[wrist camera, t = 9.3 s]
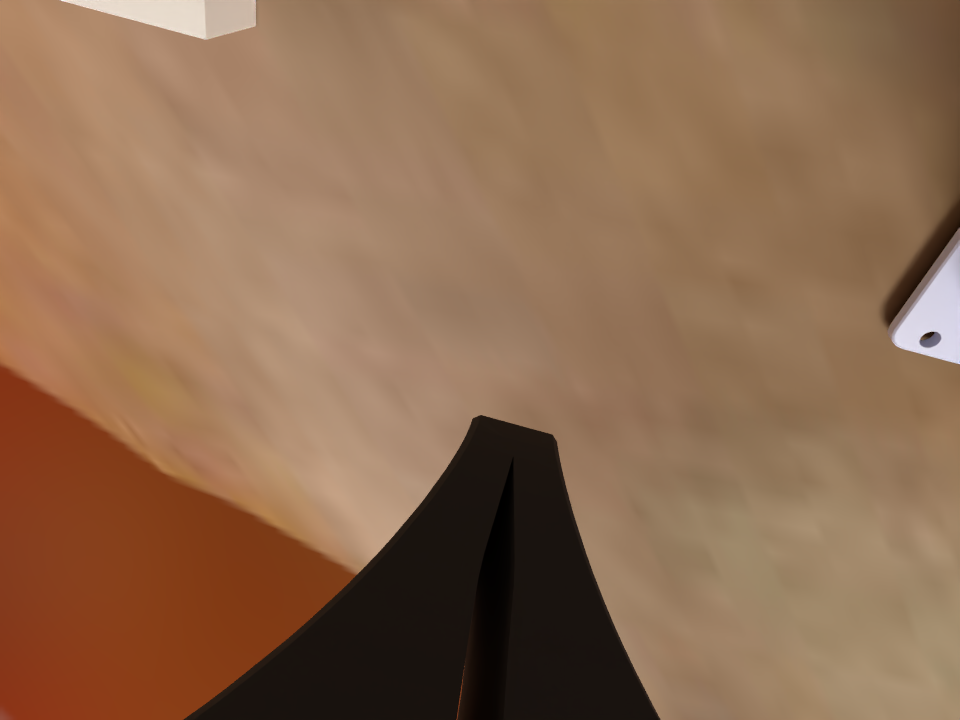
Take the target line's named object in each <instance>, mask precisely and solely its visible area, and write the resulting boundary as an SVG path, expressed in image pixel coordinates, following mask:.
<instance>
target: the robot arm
mask: <svg viewBox="0 0 960 720" xmlns="http://www.w3.org/2000/svg"><path fill="white" fill-rule="evenodd" d="M928 332H935V333H934V335H933V336H932V337H930V338H929V339H926V340H920V338H921V337H922V336H923V335H924V334H925V333H928ZM888 336H889V337H890V338H891V340H892V341H893V343H894V344H895V345H896V346H897V347H899V348H902V349H905V350H909V351H913V352H916V353H920V354H924V355H927V356H931V357H935V358H938V359H942V360H946V361H949V362H953V363H957V364H960V227H959V229H958V230H957V232H956V233H955V234H954V236H953V237H952V239H951V240H950V241H949V243H948V244H947V246H946V247H945V248H944V250H943V251H942V253H941V254H940V255H939V257H938V258H937V260H936V261H935V262H934V264H933V265H932V267H931V268H930V269H929V271H928V272H927V274H926V275H925V276H924V278H923V279H922V281H921V282H920V283H919V285H918V286H917V288H916V289H915V290H914V292H913V293H912V295H911V296H910V297H909V299H908V300H907V302H906V303H905V304H904V306H903V307H902V309H901V310H900V311H899V313H898V314H897V316H896V317H895V318H894V320H893V321H892V323H891V324H890V326H889V329H888ZM465 658H466V659H465ZM464 665H465V667H464ZM463 671H464V676H463ZM462 678H463V685H462V694H461V700H460V706H459V713H458V719H457V712H458V705H459V698H460V691H461V684H462ZM456 719H457V720H660V718H659V716H658V714H657V712H656V710H655V709H654V707H653V705H652V703H651V701H650V699H649V697H648V695H647V693H646V691H645V689H644V687H643V685H642V683H641V681H640V679H639V677H638V675H637V673H636V671H635V669H634V667H633V665H632V663H631V661H630V659H629V657H628V655H627V652H626V650H625V648H624V646H623V644H622V642H621V640H620V637H619V635H618V633H617V631H616V628H615V626H614V624H613V622H612V619H611V617H610V614H609V612H608V610H607V607H606V605H605V602H604V600H603V597H602V595H601V592H600V590H599V587H598V584H597V582H596V579H595V577H594V574H593V571H592V569H591V566H590V563H589V560H588V557H587V555H586V552H585V549H584V545H583V542H582V539H581V536H580V533H579V530H578V527H577V524H576V521H575V518H574V514H573V511H572V507H571V504H570V500H569V496H568V492H567V489H566V485H565V481H564V476H563V472H562V468H561V463H560V458H559V452H558V446H557V441H556V440H555V438H554V436H553V435H552V434H548V433H544V432H541V431H537V430H533V429H530V428H526V427H523V426H519V425H515V424H512V423H508V422H504V421H501V420H497V419H493V418H490V417H486V416H482V415H480V416H478V417H475V418H473V419H472V422H471V425H470V428H469V430H468V432H467V434H466V437H465V439H464V440H463V442H462V444H461V446H460V448H459V449H458V451H457V453H456V454H455V456H454V458H453V459H452V461H451V462H450V464H449V465H448V467H447V469H446V470H445V471H444V473H443V474H442V476H441V477H440V478H439V480H438V481H437V482H436V484H435V485H434V487H433V488H432V489H431V491H430V492H429V493H428V495H427V496H426V498H425V499H424V500H423V501H422V503H421V504H420V505H419V506H418V508H417V509H416V510H415V511H414V512H413V514H412V515H411V516H410V517H409V518H408V520H407V521H406V522H405V523H404V524H403V525H402V527H401V528H400V529H399V530H398V531H397V533H396V534H395V535H394V536H393V537H392V538H391V540H390V541H389V542H388V543H387V544H386V545H385V546H384V547H383V548H382V549H381V551H380V552H379V553H378V554H377V555H376V556H375V557H374V558H373V559H372V560H371V561H370V562H369V563H368V564H367V565H366V566H365V567H364V568H363V569H362V570H361V571H360V572H359V573H358V574H357V575H356V576H355V577H354V578H353V580H351V581H350V583H349V584H347V586H345V587H344V588H343V589H342V590H341V591H340V592H339V593H338V594H337V595H336V596H335V597H334V598H333V599H332V600H330V601H329V602H328V603H327V604H326V605H325V606H324V607H323V608H322V609H321V610H320V611H319V612H317V613H316V614H315V615H314V616H313V617H312V618H311V619H310V620H309V621H308V622H307V623H305V624H304V625H303V626H302V627H301V628H300V629H299V630H297V631H296V632H295V633H294V634H293V635H292V636H290V637H289V638H288V639H287V640H286V641H285V642H283V643H282V644H281V645H280V646H278V647H277V648H276V649H275V650H273V651H272V652H271V653H270V654H268V655H267V656H266V657H265V658H264V659H262V660H261V661H260V662H258V663H257V664H256V665H255V666H253V667H252V668H251V669H250V670H249V671H247V672H246V673H245V674H244V675H242V676H241V677H240V678H239V679H238V680H236V681H235V682H234V683H232V684H231V685H230V686H229V687H227V688H226V689H225V690H223V691H222V692H221V693H219V694H218V695H217V696H215V697H214V698H213V699H211V700H210V701H209V702H208V703H206V704H205V705H203V706H202V707H201V708H199V709H198V710H196V711H195V712H194V713H192V714H191V715H189V716H188V717H187V718H185V719H184V720H456Z"/></svg>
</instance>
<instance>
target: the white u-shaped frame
mask: <svg viewBox="0 0 960 720" xmlns="http://www.w3.org/2000/svg"><path fill="white" fill-rule="evenodd" d="M61 1H64V2H68V3H72V4H76V5H79V6H83V7H87V8H90V9H94V10H98V11H101V12H105V13H109V14H113V15H116V16H120V17H124V18H127V19H131V20H135V21H139V22H142V23H146V24H150V25H153V26H157V27H161V28H165V29H168V30H172V31H176V32H179V33H183V34H187V35H191V36H194V37H198V38H202V39H205V40H207V39H210V38H214V37H218V36H221V35H225V34H229V33H233V32H236V31H240V30H244V29H248V28H251V27H255V26H256V0H61Z"/></svg>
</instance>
